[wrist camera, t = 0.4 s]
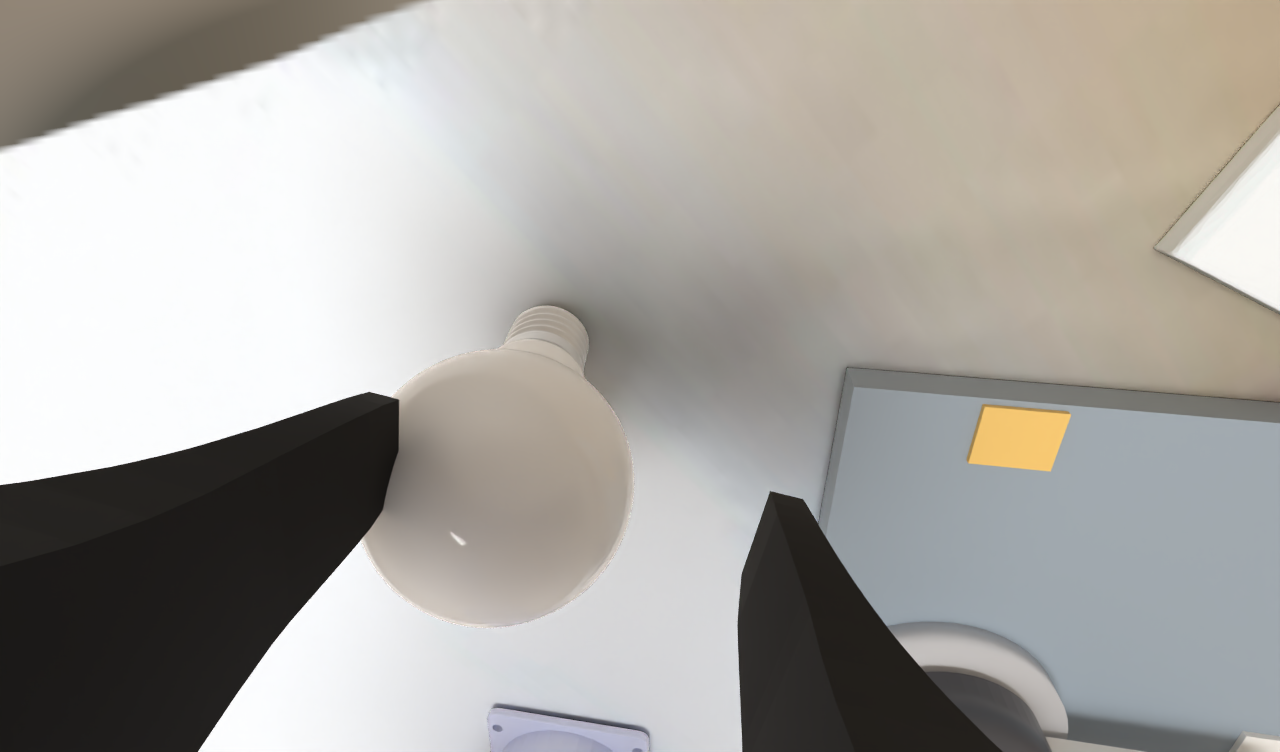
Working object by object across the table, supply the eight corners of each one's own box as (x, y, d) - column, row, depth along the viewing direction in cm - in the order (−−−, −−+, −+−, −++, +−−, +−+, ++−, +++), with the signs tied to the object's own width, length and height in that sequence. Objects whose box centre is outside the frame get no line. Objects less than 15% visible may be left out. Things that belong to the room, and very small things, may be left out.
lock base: (1210, 811, 26) (1254, 879, 24) (779, 741, 28) (781, 797, 26) (1481, 419, 18) (1585, 465, 16) (846, 367, 20) (859, 401, 18)
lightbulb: (654, 401, 23) (645, 684, 13) (486, 415, 23) (364, 696, 14) (631, 233, 19) (598, 450, 10) (437, 255, 20) (233, 478, 11)
